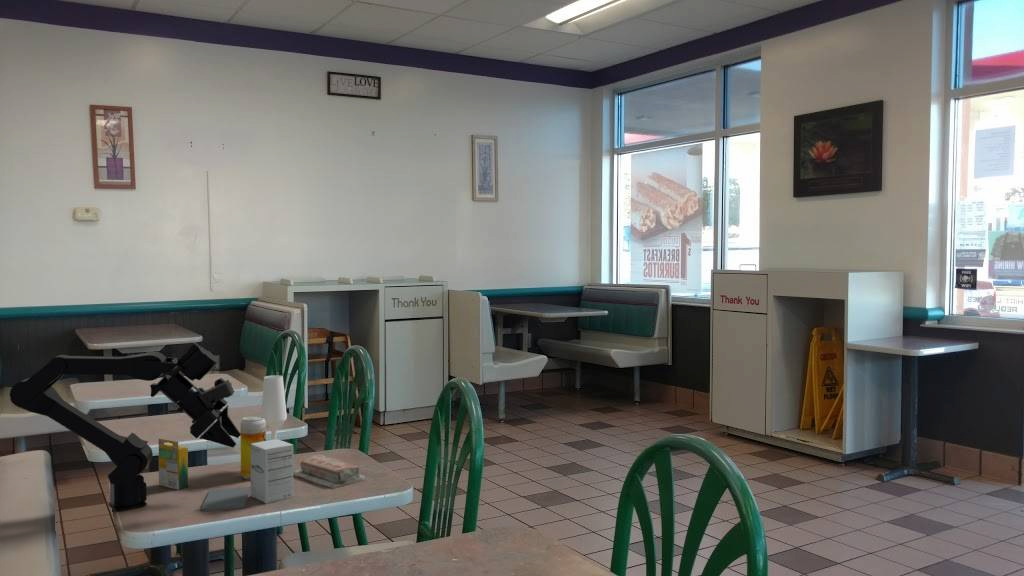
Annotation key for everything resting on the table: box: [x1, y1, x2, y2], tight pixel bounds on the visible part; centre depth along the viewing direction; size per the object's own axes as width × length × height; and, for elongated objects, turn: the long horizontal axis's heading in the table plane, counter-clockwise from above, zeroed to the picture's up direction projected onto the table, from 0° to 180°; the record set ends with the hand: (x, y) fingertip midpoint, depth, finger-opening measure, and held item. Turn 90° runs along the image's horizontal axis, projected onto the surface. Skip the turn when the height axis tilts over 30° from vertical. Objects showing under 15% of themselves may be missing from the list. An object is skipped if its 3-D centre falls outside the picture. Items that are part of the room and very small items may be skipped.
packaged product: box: [293, 453, 366, 489], centre depth 201 cm, size 18×5×10 cm
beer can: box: [239, 415, 267, 480], centre depth 200 cm, size 6×6×15 cm
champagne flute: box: [260, 374, 288, 440], centre depth 209 cm, size 7×7×24 cm
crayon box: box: [158, 438, 189, 491], centre depth 192 cm, size 7×3×12 cm, turn 61°
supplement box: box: [250, 438, 294, 504], centre depth 184 cm, size 7×7×13 cm
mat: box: [200, 486, 251, 512], centre depth 182 cm, size 9×14×1 cm, turn 13°
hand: (237, 441), depth 182 cm, fingers open, 9 cm apart
